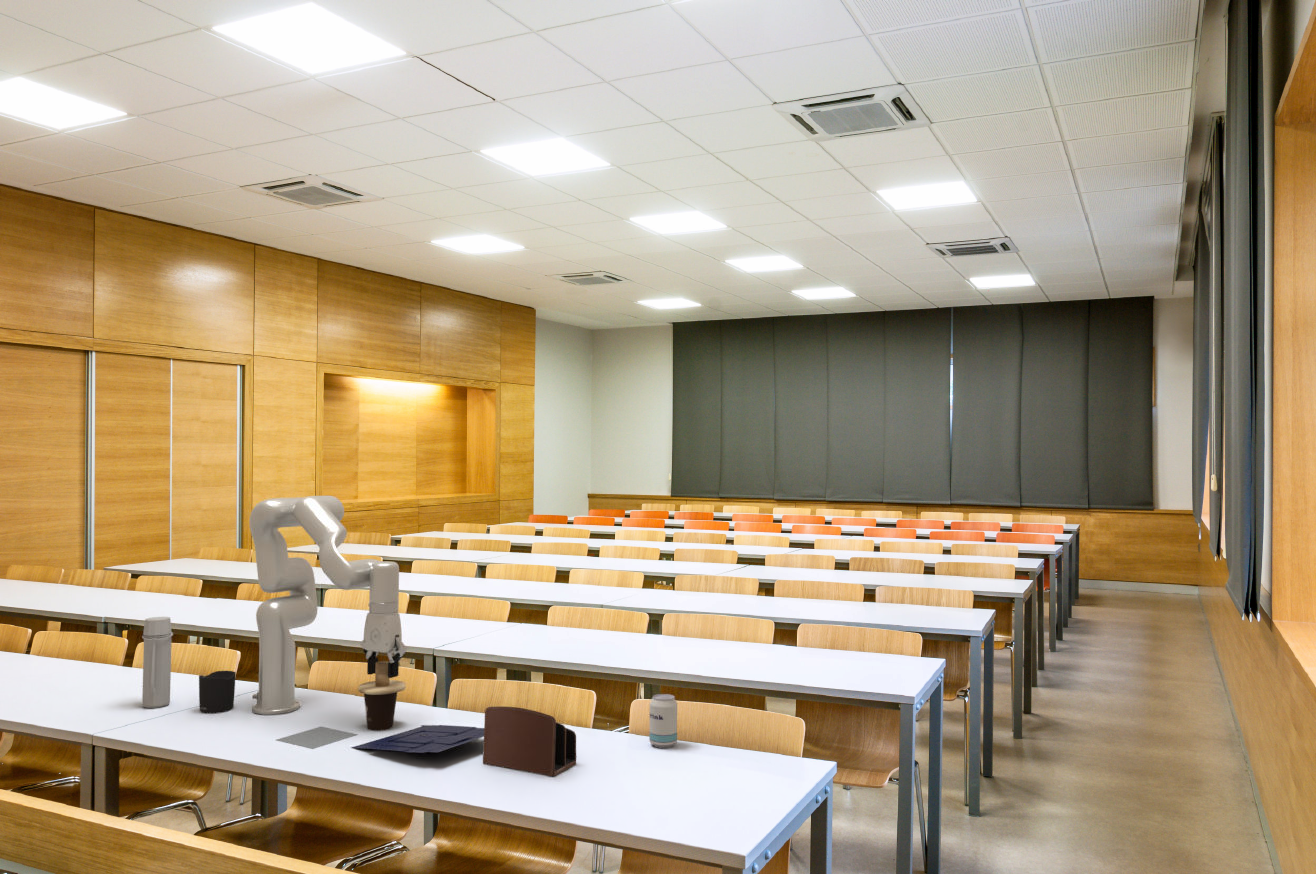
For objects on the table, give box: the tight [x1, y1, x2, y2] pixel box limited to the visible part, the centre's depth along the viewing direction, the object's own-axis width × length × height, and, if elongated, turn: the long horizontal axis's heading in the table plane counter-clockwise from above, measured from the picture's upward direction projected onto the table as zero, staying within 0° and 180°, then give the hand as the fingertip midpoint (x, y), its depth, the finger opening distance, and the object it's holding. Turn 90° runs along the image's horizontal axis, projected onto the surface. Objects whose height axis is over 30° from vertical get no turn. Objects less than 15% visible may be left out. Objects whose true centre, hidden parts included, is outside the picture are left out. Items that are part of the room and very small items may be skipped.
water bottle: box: [141, 616, 174, 709], centre depth 260 cm, size 9×8×25 cm
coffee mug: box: [363, 692, 398, 732], centre depth 241 cm, size 12×9×10 cm
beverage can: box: [648, 693, 678, 749], centre depth 227 cm, size 7×7×12 cm
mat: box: [275, 726, 359, 750], centre depth 230 cm, size 14×14×1 cm
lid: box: [358, 660, 407, 695], centre depth 241 cm, size 12×12×7 cm
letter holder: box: [482, 706, 577, 778], centre depth 211 cm, size 10×20×14 cm, turn 63°
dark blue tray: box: [350, 724, 484, 754], centre depth 224 cm, size 24×30×4 cm
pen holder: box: [198, 670, 237, 714], centre depth 257 cm, size 9×9×10 cm
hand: (382, 674), depth 241 cm, fingers open, 7 cm apart
